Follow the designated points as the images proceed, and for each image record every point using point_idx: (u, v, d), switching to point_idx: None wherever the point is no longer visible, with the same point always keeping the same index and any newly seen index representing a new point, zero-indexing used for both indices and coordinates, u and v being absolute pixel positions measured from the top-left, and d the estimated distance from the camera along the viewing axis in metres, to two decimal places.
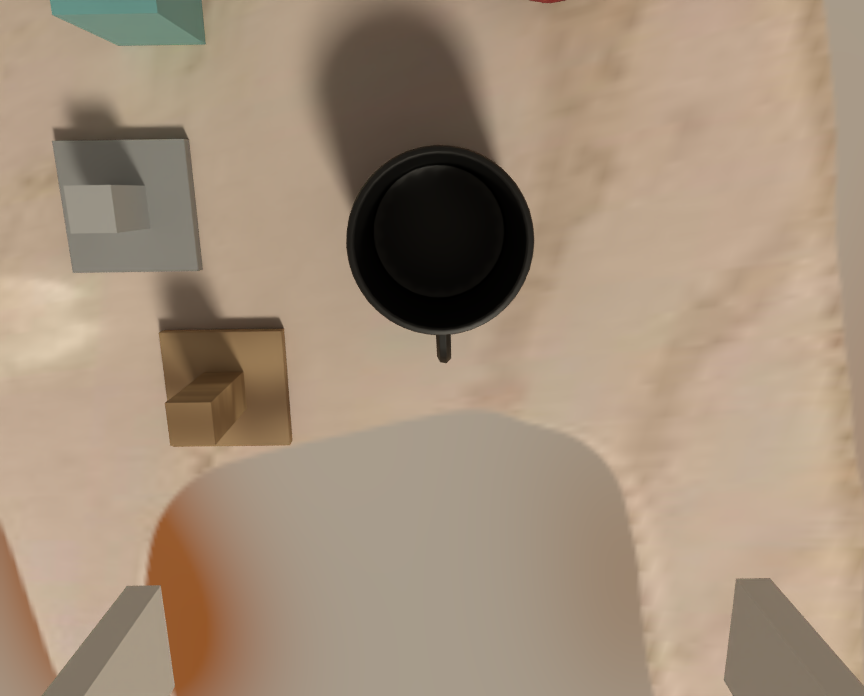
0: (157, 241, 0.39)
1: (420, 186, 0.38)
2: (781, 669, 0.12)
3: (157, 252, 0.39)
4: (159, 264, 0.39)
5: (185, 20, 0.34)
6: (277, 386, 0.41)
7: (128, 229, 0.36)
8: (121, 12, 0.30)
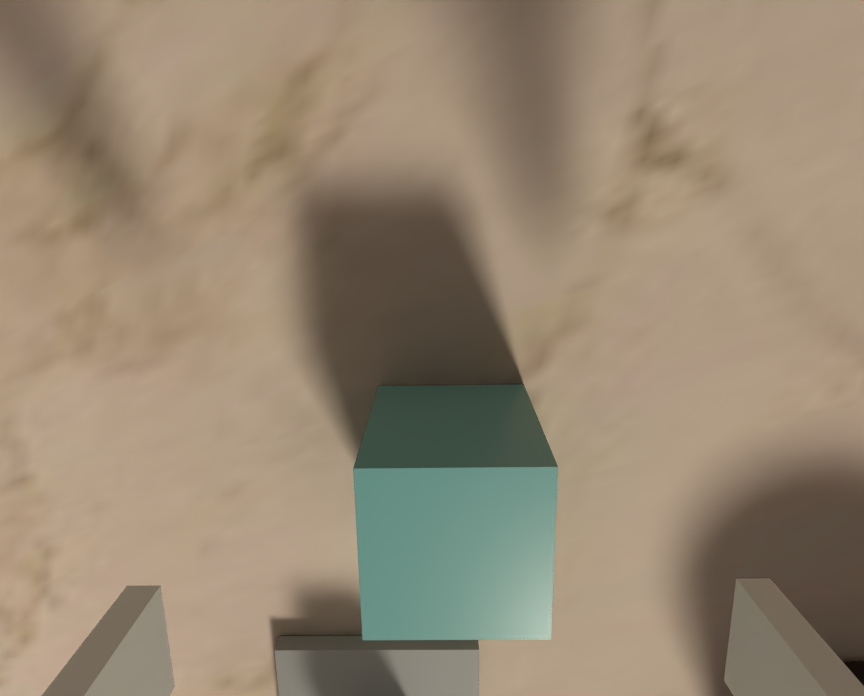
0: None
1: None
2: (781, 669, 0.12)
3: None
4: None
5: None
6: None
7: None
8: (486, 638, 0.17)
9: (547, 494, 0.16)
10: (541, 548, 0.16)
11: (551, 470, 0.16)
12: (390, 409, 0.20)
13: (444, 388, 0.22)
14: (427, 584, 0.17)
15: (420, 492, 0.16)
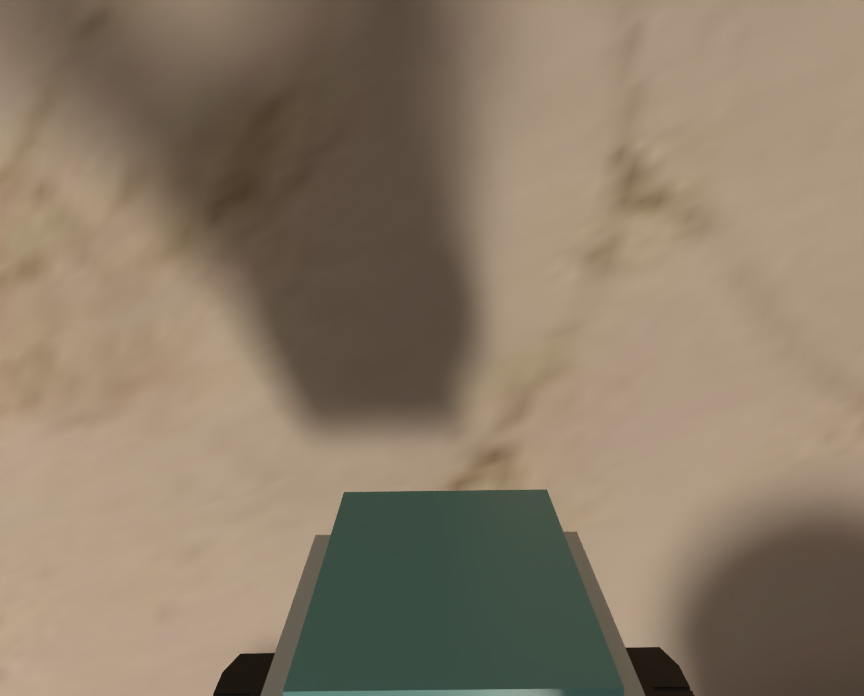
0: None
1: None
2: None
3: None
4: None
5: None
6: None
7: None
8: None
9: None
10: None
11: (613, 694, 0.09)
12: (356, 542, 0.13)
13: (436, 497, 0.15)
14: None
15: None
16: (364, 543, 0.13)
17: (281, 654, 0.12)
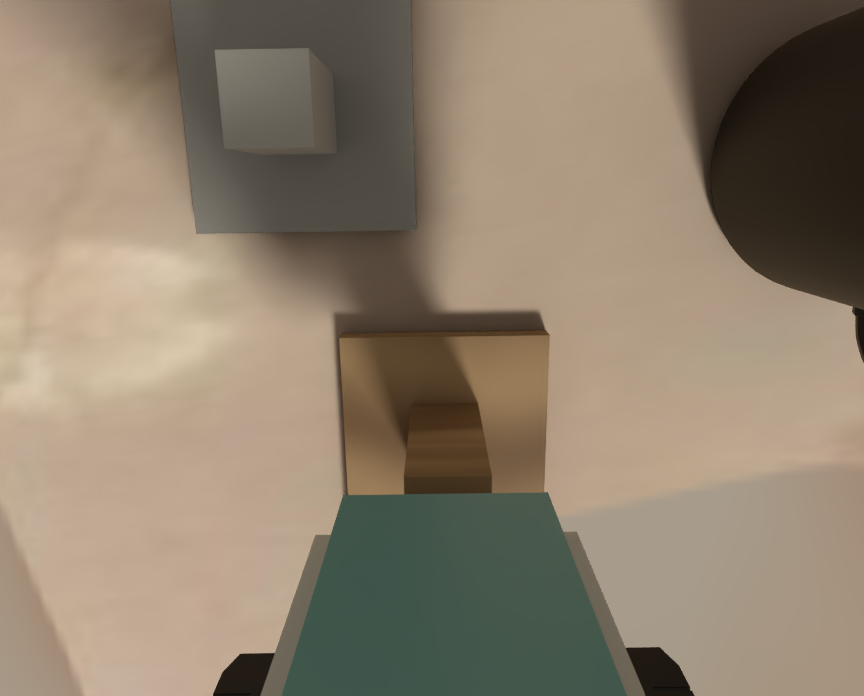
0: (348, 177, 0.22)
1: None
2: None
3: (346, 197, 0.22)
4: (348, 218, 0.22)
5: None
6: (533, 429, 0.24)
7: (322, 145, 0.19)
8: None
9: None
10: None
11: None
12: (356, 546, 0.13)
13: (436, 500, 0.15)
14: None
15: None
16: (363, 547, 0.13)
17: (281, 654, 0.12)
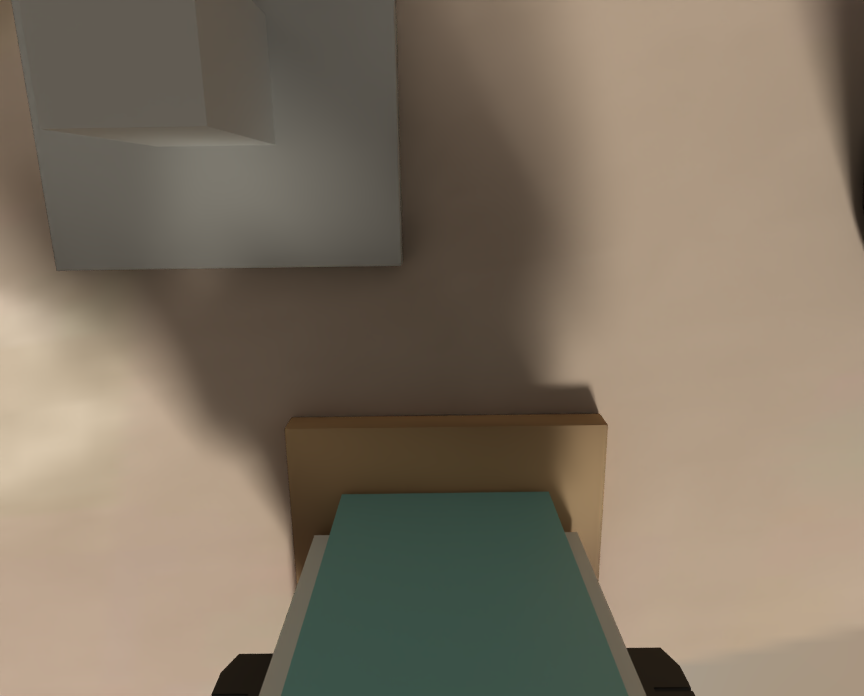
0: (293, 182, 0.14)
1: None
2: None
3: (291, 213, 0.14)
4: (295, 247, 0.14)
5: None
6: None
7: (234, 127, 0.11)
8: None
9: None
10: None
11: None
12: (354, 546, 0.13)
13: (436, 499, 0.15)
14: None
15: None
16: (362, 548, 0.13)
17: (279, 654, 0.12)
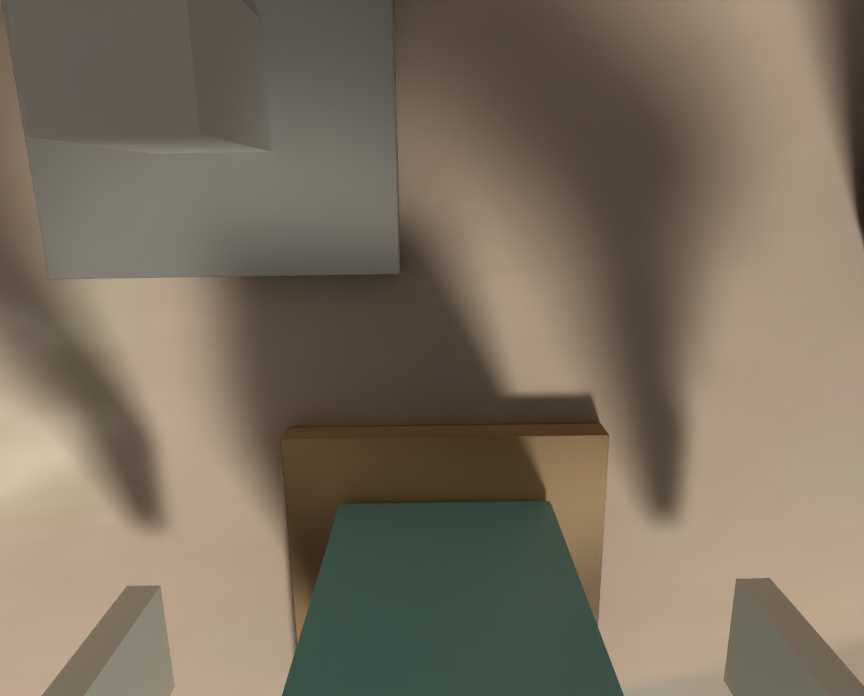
0: (289, 189, 0.14)
1: None
2: (781, 669, 0.12)
3: (288, 221, 0.14)
4: (292, 255, 0.14)
5: None
6: (580, 573, 0.16)
7: (228, 134, 0.11)
8: None
9: None
10: None
11: None
12: (352, 559, 0.13)
13: (435, 509, 0.15)
14: None
15: None
16: (360, 560, 0.13)
17: None
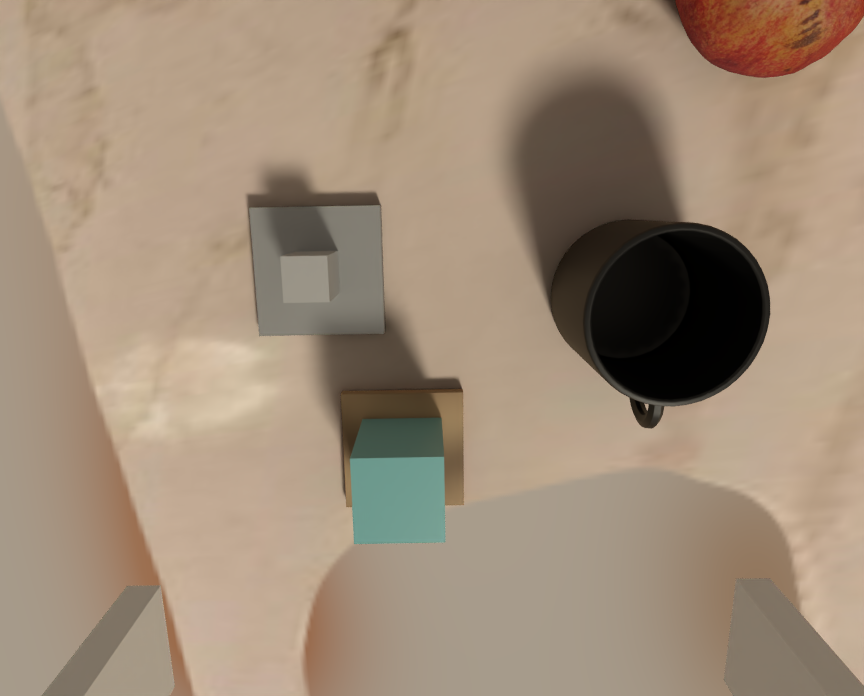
0: (346, 305, 0.39)
1: None
2: (781, 669, 0.12)
3: (345, 315, 0.39)
4: (346, 327, 0.39)
5: None
6: (455, 447, 0.41)
7: (333, 296, 0.36)
8: (414, 542, 0.35)
9: (440, 470, 0.34)
10: (438, 496, 0.34)
11: (441, 458, 0.34)
12: (368, 431, 0.38)
13: (398, 420, 0.40)
14: (385, 514, 0.35)
15: (381, 469, 0.34)
16: (371, 431, 0.38)
17: None
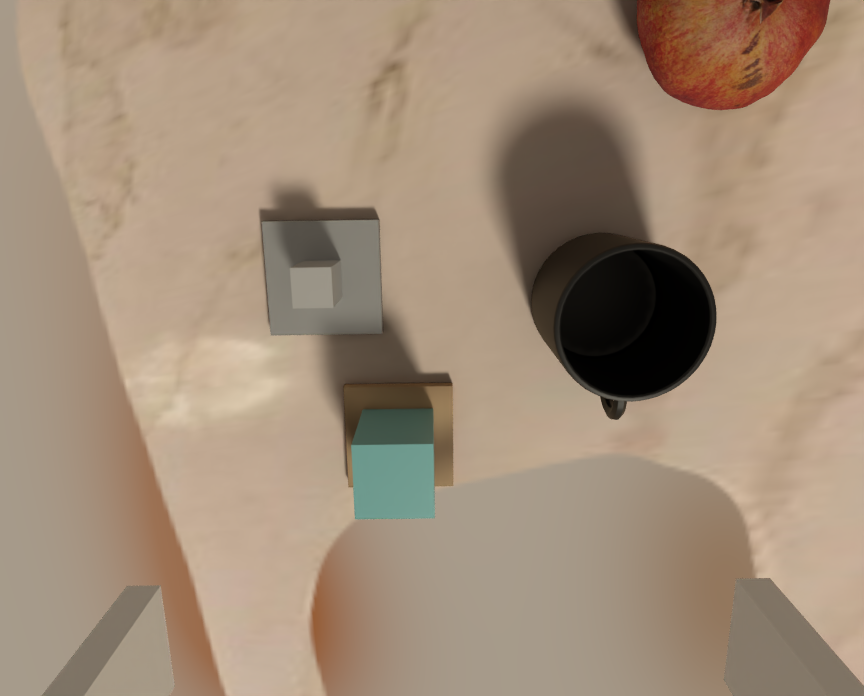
0: (348, 308, 0.44)
1: None
2: (781, 669, 0.12)
3: (347, 317, 0.44)
4: (348, 328, 0.44)
5: (434, 484, 0.44)
6: (445, 434, 0.46)
7: (336, 302, 0.41)
8: (407, 517, 0.40)
9: (429, 455, 0.39)
10: (428, 478, 0.39)
11: (430, 445, 0.39)
12: (367, 421, 0.43)
13: (394, 410, 0.45)
14: (382, 494, 0.40)
15: (378, 454, 0.39)
16: (370, 421, 0.43)
17: None
